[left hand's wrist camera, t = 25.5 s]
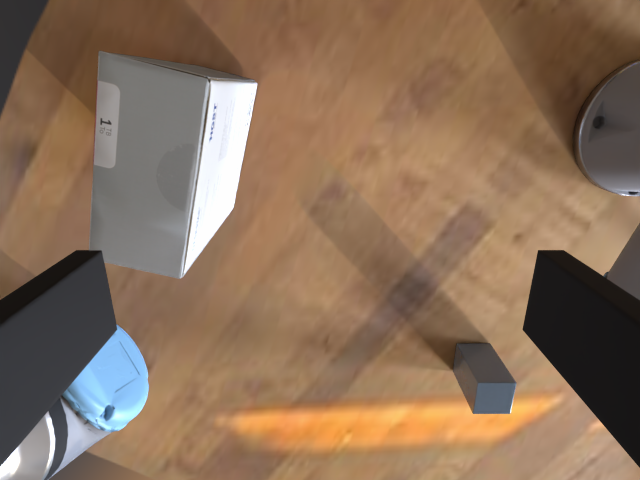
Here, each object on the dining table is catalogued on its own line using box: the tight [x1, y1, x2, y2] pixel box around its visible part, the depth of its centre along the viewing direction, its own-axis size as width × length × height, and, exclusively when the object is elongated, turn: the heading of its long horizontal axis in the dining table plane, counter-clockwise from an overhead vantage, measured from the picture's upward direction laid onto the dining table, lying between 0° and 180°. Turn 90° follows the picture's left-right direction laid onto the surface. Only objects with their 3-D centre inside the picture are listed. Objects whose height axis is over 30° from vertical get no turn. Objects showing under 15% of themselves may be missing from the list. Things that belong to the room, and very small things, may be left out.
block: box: [453, 343, 516, 414], centre depth 54 cm, size 5×5×8 cm
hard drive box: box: [89, 51, 257, 279], centre depth 38 cm, size 16×8×20 cm, turn 166°
